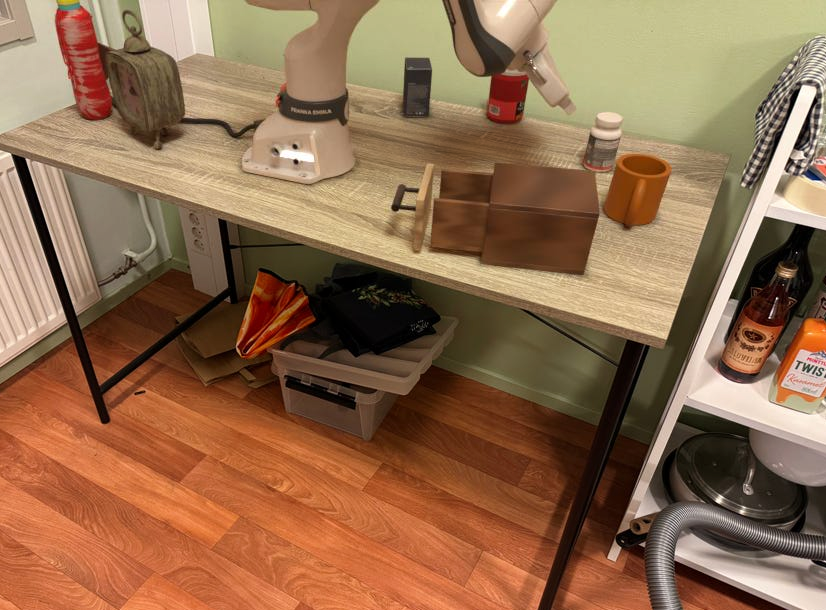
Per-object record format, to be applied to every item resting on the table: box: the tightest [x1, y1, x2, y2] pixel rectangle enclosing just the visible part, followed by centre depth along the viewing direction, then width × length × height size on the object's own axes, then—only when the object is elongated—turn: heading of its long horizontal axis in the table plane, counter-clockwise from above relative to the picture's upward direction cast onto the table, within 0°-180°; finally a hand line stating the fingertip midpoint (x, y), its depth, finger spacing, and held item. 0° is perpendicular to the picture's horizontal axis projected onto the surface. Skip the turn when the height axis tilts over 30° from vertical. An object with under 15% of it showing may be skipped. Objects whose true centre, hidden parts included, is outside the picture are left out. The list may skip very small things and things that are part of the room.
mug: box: [603, 153, 673, 228], centre depth 116 cm, size 9×12×9 cm
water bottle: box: [54, 0, 116, 121], centre depth 147 cm, size 12×8×25 cm, turn 145°
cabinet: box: [480, 161, 601, 276], centre depth 108 cm, size 16×14×11 cm
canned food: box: [486, 69, 530, 125], centre depth 148 cm, size 8×8×11 cm
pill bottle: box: [582, 111, 623, 173], centre depth 130 cm, size 6×6×10 cm
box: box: [402, 56, 433, 118], centre depth 151 cm, size 8×6×11 cm
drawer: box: [390, 163, 494, 253], centre depth 110 cm, size 19×13×9 cm, turn 78°
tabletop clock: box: [105, 9, 186, 150], centre depth 137 cm, size 14×9×25 cm, turn 42°
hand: (567, 100), depth 124 cm, fingers open, 8 cm apart
